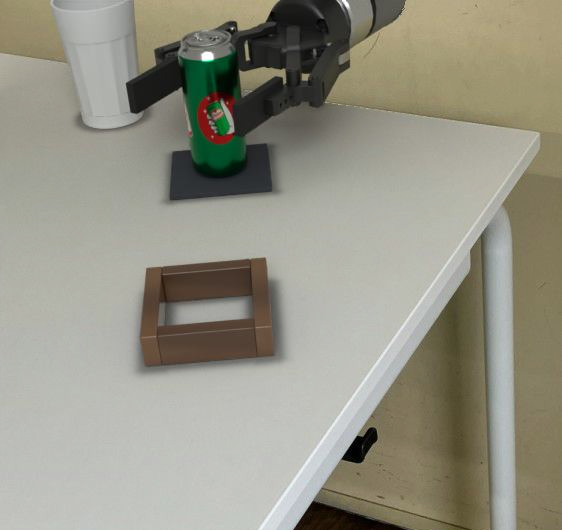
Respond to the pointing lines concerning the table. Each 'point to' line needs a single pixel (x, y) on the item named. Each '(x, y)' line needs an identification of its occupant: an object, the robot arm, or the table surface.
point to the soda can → (212, 102)
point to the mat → (195, 185)
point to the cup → (100, 57)
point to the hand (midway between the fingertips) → (182, 109)
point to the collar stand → (207, 335)
